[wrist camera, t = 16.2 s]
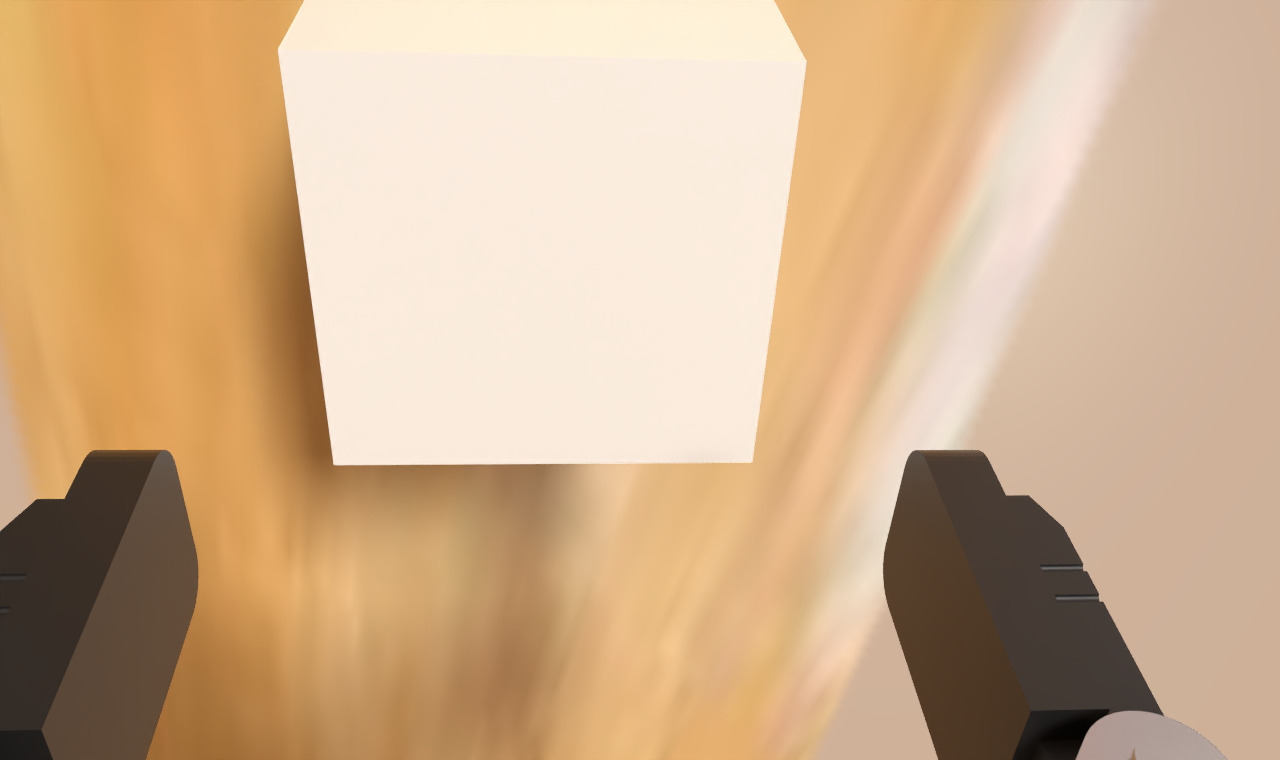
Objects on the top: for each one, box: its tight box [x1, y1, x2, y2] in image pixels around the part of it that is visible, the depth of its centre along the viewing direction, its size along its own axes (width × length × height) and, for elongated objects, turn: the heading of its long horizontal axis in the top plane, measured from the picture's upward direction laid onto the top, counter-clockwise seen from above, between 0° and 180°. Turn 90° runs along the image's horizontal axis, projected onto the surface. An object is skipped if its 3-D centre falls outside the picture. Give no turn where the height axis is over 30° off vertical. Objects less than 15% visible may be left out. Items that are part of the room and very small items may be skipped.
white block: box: [278, 0, 807, 465], centre depth 20 cm, size 7×7×9 cm
